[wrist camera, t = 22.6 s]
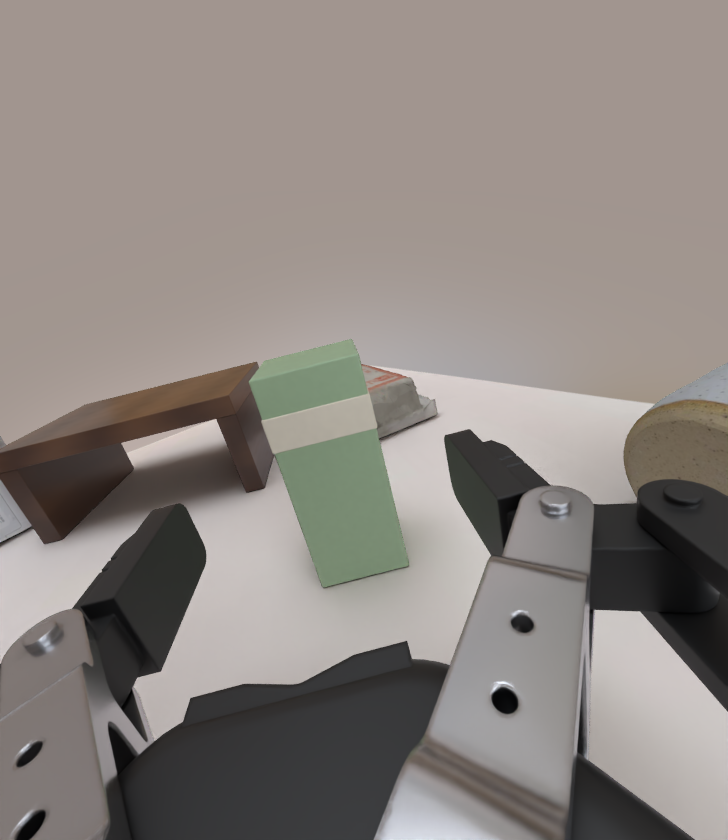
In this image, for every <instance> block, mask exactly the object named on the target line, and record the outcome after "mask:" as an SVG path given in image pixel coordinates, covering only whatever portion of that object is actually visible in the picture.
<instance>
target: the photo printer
mask: <svg viewBox="0 0 728 840" xmlns="http://www.w3.org/2000/svg"><path fill="white" fill-rule="evenodd" d="M4 446H6V444H5V443H4V441H3V440H2V438H1V437H0V448H2V447H4ZM31 526H32V525H31V524H30V522H29V521H28V520H27V518H26V517H25V515H24V514H23V512H22V511H21V509H20V508H19V506H18V505H17V503H16V502H15V500H14V499H13V498H12V496H11V495H10V493H9V492H8V490H7V489H6V487H5V486H4V484H3V483H2V481H1V480H0V542H2V541H4V540H6V539H8V538H10V537H12V536H14V535H16V534H18V533H20V532H22V531H24V530H25V529H27V528H29V527H31Z"/></svg>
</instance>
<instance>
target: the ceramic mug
mask: <svg viewBox="0 0 728 840" xmlns="http://www.w3.org/2000/svg"><path fill="white" fill-rule="evenodd" d="M624 466H625V471H626V475H627V477H628V480H629V482H630V485H631V487H632V489H633V491H634V493H635V495H636V497H637V492H638V490H639V488H640V487H641V486H643V485H644V484H646V483H648V482H651V481H655V480H662V479H678V480H686V481H692V482H696V483H700V484H703V485H706V486H709V487H711V488H714V489H716V490H718V491H719V492H721V493H723V494H725V495H726V496H728V363H726V364H724V365H722V366H720V367H719V368H716V369H715V370H713V371H711V372H709V373H708V374H706V375H704V376H702V377H701V378H699V379H697V380H696V381H694V382H692V383H690V384H688V385H686V386H684V387H682V388H680V389H678V390H677V391H675V392H673V393H671V394H669V395H668V396H666V397H665V398H663V399H662V400H660V401H659V402H657V403H656V404H655V405H654V406H653V407H652V408H651V409H649V410H648V411H647V412H646V413H645V414H644V415H643V416H642V417H641V418H640V419H639V420H637V422H636V423H635V424H634V426H633V427H632V429H631V430H630V432H629V434H628V436H627V439H626V442H625V447H624Z"/></svg>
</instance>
